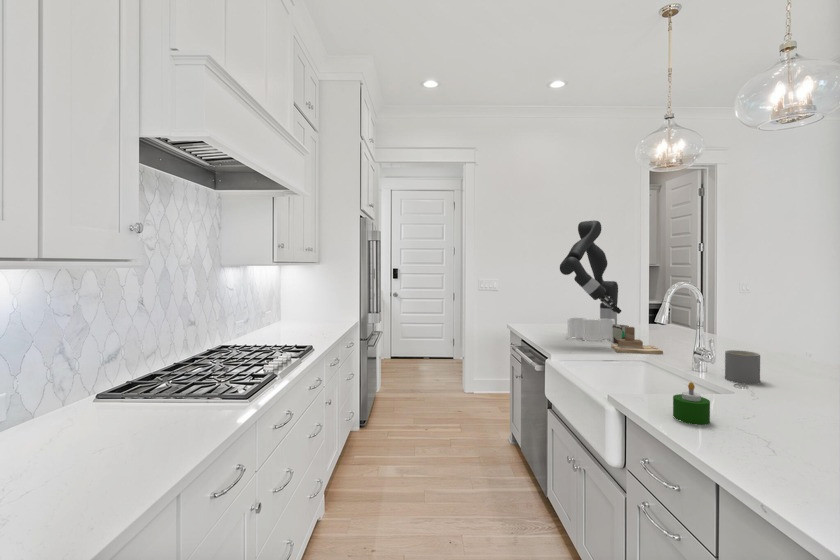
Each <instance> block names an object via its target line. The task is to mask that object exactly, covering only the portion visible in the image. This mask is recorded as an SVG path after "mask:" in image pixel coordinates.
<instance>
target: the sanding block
mask: <svg viewBox="0 0 840 560" xmlns="http://www.w3.org/2000/svg"><path fill="white" fill-rule="evenodd" d="M635 329H636V328H635V327H634V326H629V327H625V339H618V344H617V345H618V347H620V348H633V349H643V346H644V345H643V344H644V343H643V341H642V340H641V339H640V338H639V339H636V337H635V334H636V332H635V331H636V330H635Z"/></svg>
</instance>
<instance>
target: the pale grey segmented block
mask: <svg viewBox="0 0 840 560" xmlns="http://www.w3.org/2000/svg"><path fill="white" fill-rule="evenodd" d="M613 324H615V320H614V319H600V318H597V319H594V318H593V319H591V318H589V319H587V318H585V317H567V340H569V339H570V340H569V341H572V340H573V338H572V337H577V338H576V339H581V338H583V339H582V341H583V340H592V341H591V342H603V340H602V339H608V340H607V341H611V342H612V343H613V328H612V326H613ZM593 340H594V341H593Z"/></svg>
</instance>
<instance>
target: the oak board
mask: <svg viewBox="0 0 840 560" xmlns="http://www.w3.org/2000/svg"><path fill="white" fill-rule="evenodd" d="M610 347H611V348H612V349H613V351H615V352H616V353H620V354H641V355H643V354H645V355H664V351H663V350H662V349H660V348H658V347H657V346H655V345H643V349H633V348H620V347H618V344H614V343H613V344H610Z"/></svg>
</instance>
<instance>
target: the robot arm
mask: <svg viewBox="0 0 840 560" xmlns="http://www.w3.org/2000/svg"><path fill="white" fill-rule="evenodd" d="M577 231H578V232H577V233H578V235H579V238H580V239H579V240H578V241H577V242H575V243H574V244H573V245H572V246H571V248H570V250H569V252H568V253H567V255H566V257H564V259H563V260H562V261H561V263H560V264H559V272H560V273H561V274H562V275H565V276H569V275H571V274H572V273H573V272H574V273H575V276H574V282H575V283H577V284H578V285H579V287H581V288H582V290H583V291H584V292H586V293H587V295H588V296H590V298H592V299H593V300H594V301H597V300H600V301H599V302H600V303H599V319H614V320H615V324H618V315H619V314H620V313H621V312H622V310H621V308H620V307H619V306H618V299H619V296H618V295H619V284H618V282H617V281H615V280H611V281H610V280H604V279H603V275H604V273H605V272H606V269H607V267H608V259H607V256H606V253H605V252H604V250H603V249H602V248H601V247H599V246H598V245H597V244H596V243H595V241H596V240H597V239H598V238H599V236H600V234H601V233H602V224H601V222H600V221H599V220H585V221H581V222H579V223H578V226H577ZM585 254H586V255H587V260H588V263H589V265H590V268H591V271H592V274H593V275H592V276H593V277H594V278H593V277H592V276H591V275H590V274H589V273H588V272H587V271H586V269H585V268H584V266H583V265H582V263H581V262H580V261H581V260H582V259H583V257H584V256H585Z"/></svg>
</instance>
